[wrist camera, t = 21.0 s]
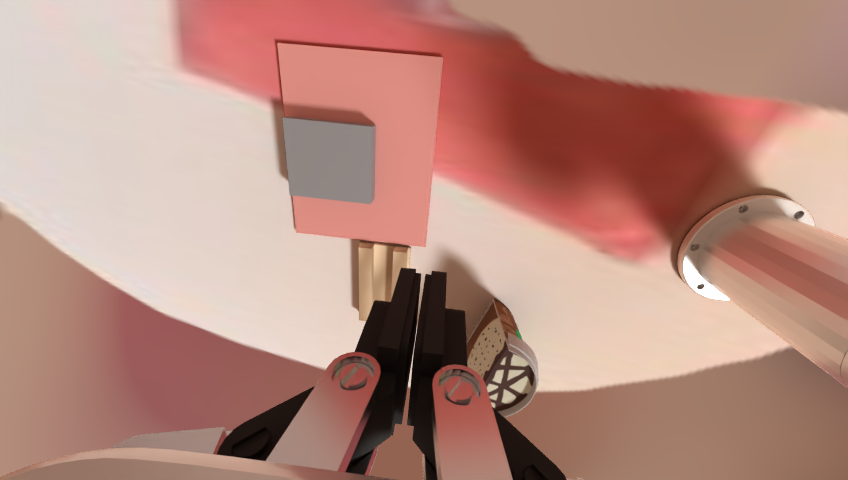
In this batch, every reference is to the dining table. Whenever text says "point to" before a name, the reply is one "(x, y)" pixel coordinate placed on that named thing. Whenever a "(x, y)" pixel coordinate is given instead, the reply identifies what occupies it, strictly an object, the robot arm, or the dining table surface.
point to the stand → (379, 273)
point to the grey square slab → (330, 159)
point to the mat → (395, 134)
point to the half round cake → (503, 360)
